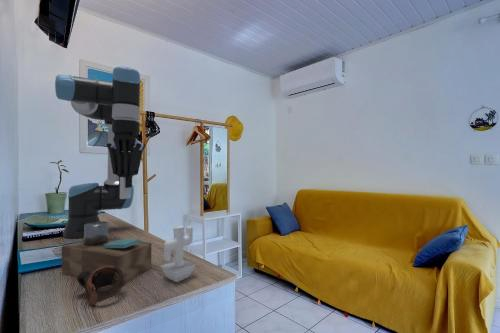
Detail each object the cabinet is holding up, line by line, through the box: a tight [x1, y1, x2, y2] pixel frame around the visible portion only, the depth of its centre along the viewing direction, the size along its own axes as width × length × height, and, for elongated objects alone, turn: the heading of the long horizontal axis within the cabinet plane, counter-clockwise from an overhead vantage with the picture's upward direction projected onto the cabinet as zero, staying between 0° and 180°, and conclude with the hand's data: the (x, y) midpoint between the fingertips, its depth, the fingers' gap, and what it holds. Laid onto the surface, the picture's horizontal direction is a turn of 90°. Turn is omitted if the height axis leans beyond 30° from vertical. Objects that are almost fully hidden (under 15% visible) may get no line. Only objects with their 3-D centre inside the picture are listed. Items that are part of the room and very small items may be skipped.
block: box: [61, 236, 152, 283], centre depth 79 cm, size 13×22×8 cm, turn 70°
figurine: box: [160, 225, 197, 283], centre depth 75 cm, size 7×9×15 cm
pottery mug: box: [76, 266, 126, 306], centre depth 64 cm, size 12×10×8 cm
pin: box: [83, 221, 109, 246], centre depth 81 cm, size 6×6×13 cm
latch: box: [104, 238, 142, 248], centre depth 77 cm, size 6×8×1 cm
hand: (125, 198), depth 78 cm, fingers closed
